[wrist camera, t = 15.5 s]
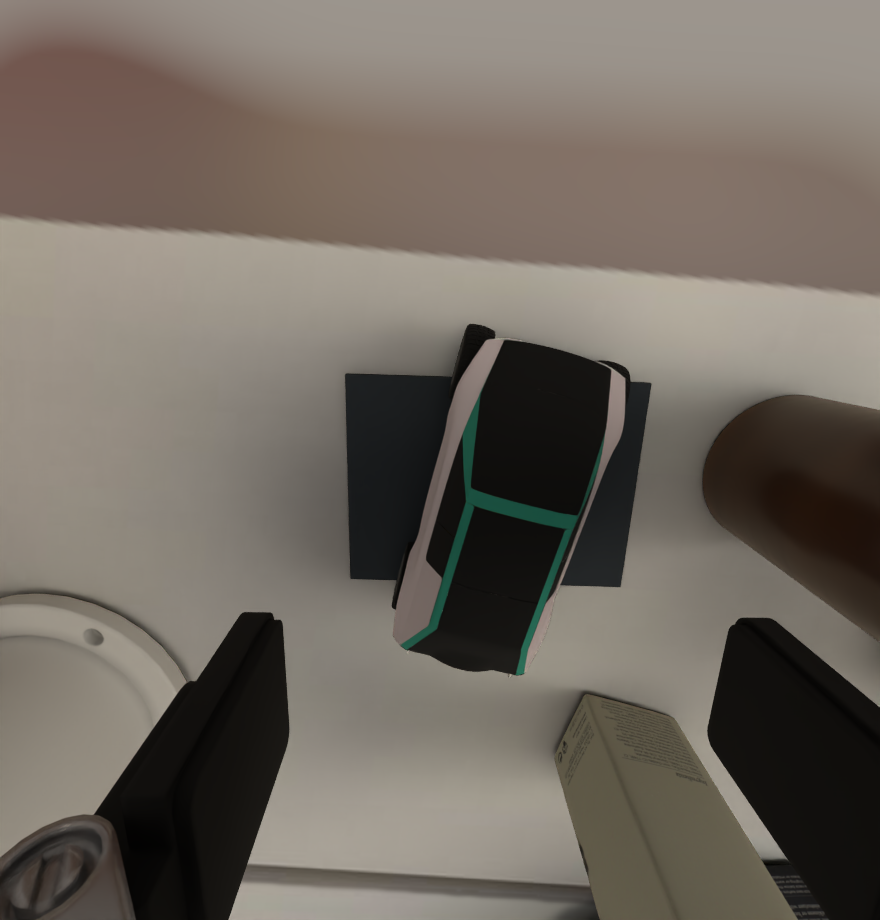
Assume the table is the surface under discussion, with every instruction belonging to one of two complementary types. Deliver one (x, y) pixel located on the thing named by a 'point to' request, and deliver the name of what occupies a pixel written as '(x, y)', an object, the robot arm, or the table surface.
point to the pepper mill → (806, 496)
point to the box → (656, 823)
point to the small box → (796, 893)
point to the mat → (412, 466)
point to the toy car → (506, 500)
